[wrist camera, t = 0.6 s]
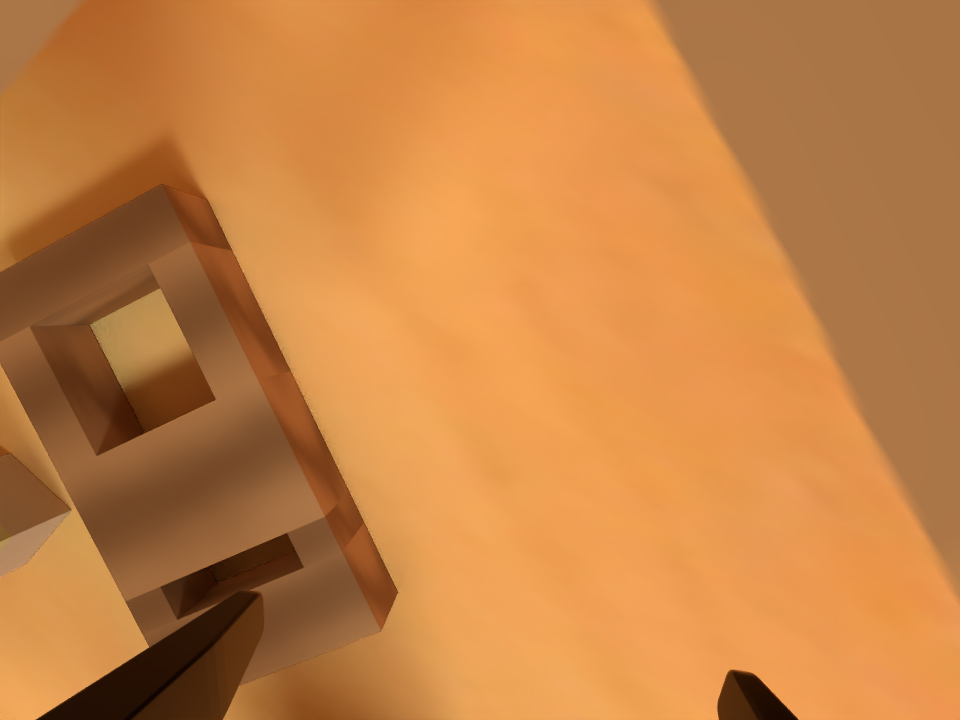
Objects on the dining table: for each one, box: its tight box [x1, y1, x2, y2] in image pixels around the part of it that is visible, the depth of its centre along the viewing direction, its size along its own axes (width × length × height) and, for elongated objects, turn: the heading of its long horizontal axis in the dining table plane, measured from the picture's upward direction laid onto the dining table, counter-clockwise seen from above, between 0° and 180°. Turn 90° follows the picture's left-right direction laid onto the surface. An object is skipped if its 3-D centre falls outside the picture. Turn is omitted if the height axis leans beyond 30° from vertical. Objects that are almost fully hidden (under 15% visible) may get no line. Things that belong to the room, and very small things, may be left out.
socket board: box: [0, 184, 398, 686], centre depth 23 cm, size 22×11×3 cm, turn 25°
